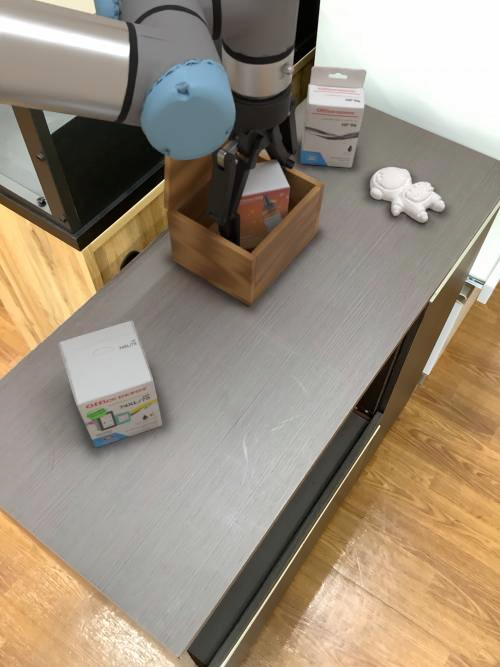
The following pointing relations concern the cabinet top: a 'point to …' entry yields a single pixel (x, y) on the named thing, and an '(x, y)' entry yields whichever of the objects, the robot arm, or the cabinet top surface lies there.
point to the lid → (184, 176)
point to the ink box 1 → (111, 383)
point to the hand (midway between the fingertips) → (252, 223)
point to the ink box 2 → (332, 116)
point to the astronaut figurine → (405, 193)
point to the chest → (231, 260)
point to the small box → (262, 203)
